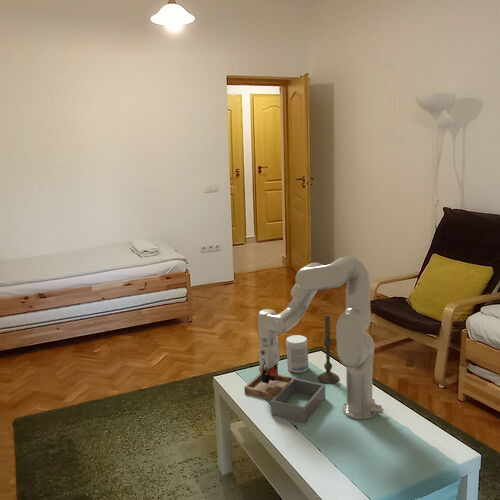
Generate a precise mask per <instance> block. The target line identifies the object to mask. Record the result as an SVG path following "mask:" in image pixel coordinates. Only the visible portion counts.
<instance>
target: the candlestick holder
mask: <svg viewBox="0 0 500 500" xmlns="http://www.w3.org/2000/svg"><path fill="white" fill-rule="evenodd" d="M322 339H323V345H324V346H325V354H326V355H325V358H326V359H325V361H326V362H325V363H324V365H323V366H324V369H325V372H323V373H320V374H318V376H317V380H318V381H319V382H320V383H321V384H325V385H326V384H327V385H328V384H329V385H330V384H336V383H338V382H339V381H340V377H339V375H338V374H336V373H334V372H332V368H333V363H331V361H330V359H331V346H332V345H333V344H332V341H333V338H332V337H331V315H330V314H328V313H326V314H325V315H324V337H323V338H322Z"/></svg>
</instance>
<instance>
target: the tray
mask: <svg viewBox="0 0 500 500" xmlns="http://www.w3.org/2000/svg"><path fill="white" fill-rule="evenodd" d="M293 378H294V377H292V376H286V375H283V374H279V373H278V377H277V379H276V380H275V381H271V380H269V383H263V382H262V376H261V373H260V372H259V374H257V376H255V377H254V378H253V379H251V381H250V382H248V384H246V385H245V386H244V388H243V389H244V394H247V395H252V396H256V397H259V398H264V399H268V400H270V401H271V400H272V399H273V398H274V397H275V396H276V395H277V394H278V393H279V392H280V391H281V390H282V389H283V388H284V387H285V386H286V385H287V384H288V383H289V382H290V381H291V380H292V379H293Z"/></svg>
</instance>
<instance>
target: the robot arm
mask: <svg viewBox="0 0 500 500" xmlns="http://www.w3.org/2000/svg"><path fill="white" fill-rule="evenodd" d="M344 284H346V289H345V305H346V307H345V310H344V312H343V313H341V315H340V316H339V317H338V319H337V321H336V325H335V326H336V327H335V331H336V353H337V357H338V359H339V361H340V363H341V364H342V365H343V366H344V367H346V402H345V403H343V404H342V412H343V414H345V416H347V417H349V418H352V419H353V420H369V419H372V418H373V417H375V416H376V415H377V414H380V415H383V414H384V408H383V405H381V404H377V403H375V402H376V401H375V399H374V398H373V374H374V373H373V365H374V364H373V363H374V355H375V342H374V339H373V337H372V336H371V335H370V333H369V332H367V331H366V330H367V329H368V327H369V326H370V325H371V321H372V319H371V318H372V317H371V315H372V314H371V312H372V311H371V288H370V287H371V286H370V285H371V283H370V276H369V272H368V270H367V268H366V267H365V265H364V263H362V261H360V260H359V259H358V258H356V257H353V256H349V255H347V256H345V255H344V256H341V257H339V258H337V259H336V260H334V261H333V262H331V263H329V264H325V265H324V264H322V263H319V262H311V263H309V264H307V265H304V266H303V267H301V268H300V269H299V270H298V271H297V273H296V275H295V284H294V285H293V287H292V289H291V291H290V295H291V297H292V300H291V301H290V302H289V304H288V305H287V307H286V309H284V310H283V311H280V313H277V312H276V311H275V310H274V309H272V308H269V309H268V308H266V309H261V310H260V311H259V312H258V314H257V320H258V323H257V324H258V338H259V339H258V343H259V353H258V354H259V359H258V360H259V367H258V371H259V374H260V373H261V374H262V382H263V383H269V374H268V371H269V369H271V368H272V367H273V366H274V367H275V368H276V369H277V371H278V368H279V367H278V366H279V362H280V359H281V358H280V357H281V354H280V345H279V340H278V335H279V334H282V335H283V334H285V333H287V332H289V331H290V330H291V329H292V328H293V327H296V326H297V324H298V323H299V322H300V321H301V320H302V318H303V317H304V315H305V313H306V312H307V310H308V309H309V307H310V303H311V301H312V300H313V298H314V297H315V295H316V294H317V292H318V291H319V290H327V289H334V288H339V287H341V286H344ZM264 366H266V367H264ZM264 368H266V371H265V370H264ZM278 372H279V371H278Z"/></svg>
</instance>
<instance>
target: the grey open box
mask: <svg viewBox="0 0 500 500" xmlns="http://www.w3.org/2000/svg"><path fill="white" fill-rule="evenodd" d="M292 378H293V379H292V380H291V381H290V382H289V383H288V384H287V385H286V386H285V387H284V388H283V389H282V390H281V391H280V392H279V393H278V394H277V395H276V396H275V397H274V398H273V399H272V400H271V399H270V412H271V413H270V414H271V416H273V417H278V418H281V419H285V420H289V421H293V422H295V423H300V424H304V425H306V424H307V423H308V421H309V420H310V419H311V418H312V417H313V415H314V414H315V412H317V410H318V409H319V407H320V406H321V405H322V404H323V403H324V401H325V400H326V384H324V383H318V382H313V381H308V380H305V379H299V378H296V377H292ZM295 394H299V395H303V396H307V397H311V398H310V399H309V400H308V401H307V403H306V404H304V406H298V405H295V404H291V403H288V401H289V400H290V399H291V398H292V397H293V396H294V395H295Z"/></svg>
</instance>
